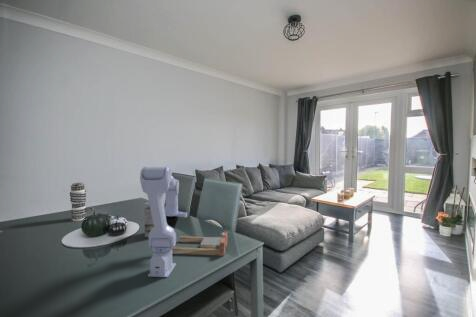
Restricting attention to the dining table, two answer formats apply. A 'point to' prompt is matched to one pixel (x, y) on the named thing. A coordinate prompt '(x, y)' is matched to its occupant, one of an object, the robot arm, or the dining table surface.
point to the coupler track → (201, 250)
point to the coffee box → (148, 221)
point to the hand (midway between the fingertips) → (172, 231)
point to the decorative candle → (78, 201)
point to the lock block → (210, 243)
